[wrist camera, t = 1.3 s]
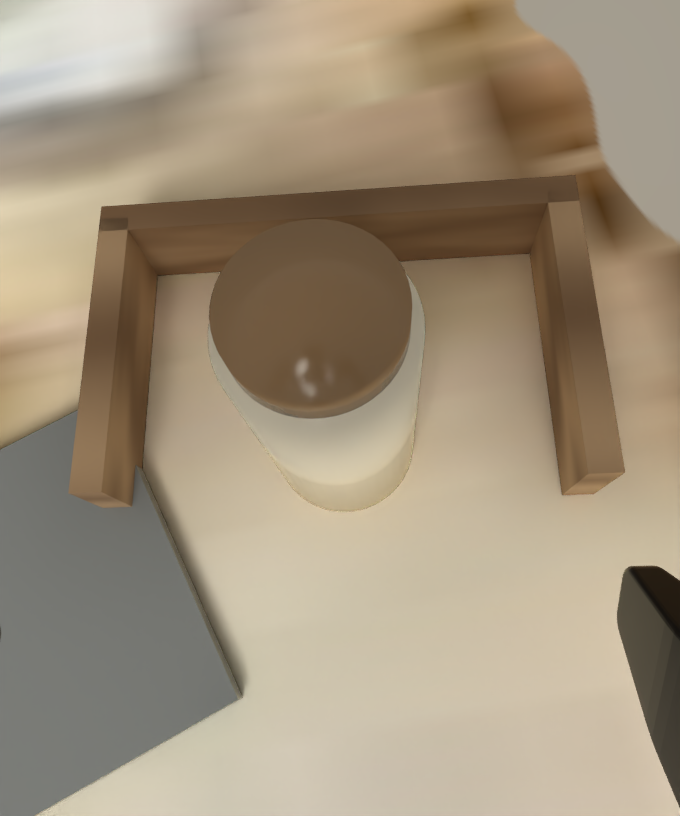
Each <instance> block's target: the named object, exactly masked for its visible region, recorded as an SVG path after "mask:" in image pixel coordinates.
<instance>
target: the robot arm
mask: <svg viewBox="0 0 680 816" xmlns="http://www.w3.org/2000/svg"><path fill="white" fill-rule="evenodd" d="M617 623H618V629H619V633H620V636H621V639H622V643H623V646H624V649H625V653H626V656H627V660H628V663H629V666H630V670H631V673H632V676H633V680H634V683H635V687H636V690H637V693H638V697H639V700H640V703H641V707H642V710H643V714H644V717H645V720H646V723H647V727H648V730H649V733H650V736H651V739H652V742H653V744H654V747H655V749H656V752H657V754H658V757H659V759H660V762H661V764H662V767H663V769H664V771H665V774H666V776H667V779H668V781H669V783H670V786H671V788H672V791H673V793H674V795H675V798H676V800H677V802H678V805H679V807H680V581H679V580H678V579H677V578H675V577H674V576H672V575H671V574H669V573H668V572H667V571H665V570H664V569H662V568H660V567H658V566H631V567H628V568H627V569H626V570H625V571H624V574H623V578H622V584H621V591H620V597H619V604H618V610H617ZM0 640H1V627H0Z"/></svg>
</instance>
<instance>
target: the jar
mask: <svg viewBox="0 0 680 816" xmlns="http://www.w3.org/2000/svg"><path fill="white" fill-rule="evenodd" d="M209 321H210V322H209V327H208V349H209V356H210V360H211V364H212V367H213V370H214V372H215V375H216V377H217V379H218V381H219V383H220V384H221V386H222V388H223V389H224V391H225V392H226V394H227V395H228V397H229V398H230V399H231V401H232V402H233V404H234V405H235V407H236V408H237V410H238V411H239V412H240V414H241V415H242V417H243V418H244V420H245V421H246V423H247V424H248V425H249V427H250V428H251V430H252V431H253V433H254V434H255V435H256V437H257V438H258V440H259V441H260V443H261V444H262V446H263V447H264V448H265V450H266V451H267V453H268V454H269V456H270V457H271V459H272V460H273V461H274V463H275V464H276V466H277V467H278V469H279V470H280V472H281V473H282V474H283V476H284V477H285V479H286V480H287V482H288V483H289V484H290V486H291V487H292V488H293V489H294V491H295V492H296V493H298V494H299V495H300V496H301V497H302V498H303V499H305V500H306V501H308V502H309V503H311V504H313V505H315V506H317V507H320V508H323V509H326V510H331V511H338V512H351V511H357V510H362V509H365V508H368V507H371V506H373V505H375V504H377V503H379V502H380V501H382V500H384V499H385V498H386V497H388V496H389V495H390V494H391V493H392V492H393V491H394V490H395V489H396V488H397V487H398V486H399V484H400V483H401V481H402V480H403V478H404V476H405V474H406V473H407V471H408V468H409V465H410V462H411V457H412V450H413V441H414V432H415V423H416V414H417V405H418V396H419V387H420V379H421V370H422V361H423V352H424V343H425V316H424V311H423V307H422V303H421V300H420V297H419V295H418V292H417V290H416V288H415V286H414V285H413V283H412V281H411V279H410V278H409V277H408V275H407V274H406V273H405V271H404V269H403V267H402V265H401V264H400V262H399V260H398V259H397V258H396V256H395V255H394V254H393V252H392V251H391V250H390V249H389V248H388V247H387V246H386V245H385V244H384V243H383V242H381V241H380V240H379V239H377V238H376V237H375V236H373V235H372V234H370V233H368V232H366V231H365V230H363V229H361V228H358V227H356V226H353V225H351V224H347V223H343V222H340V221H334V220H327V219H307V220H298V221H293V222H288V223H285V224H282V225H278V226H276V227H273V228H271V229H269V230H266V231H264V232H263V233H261V234H259V235H257V236H256V237H254V238H253V239H251V240H250V241H249V242H247V243H246V244H245V245H243V246H242V247H241V248H240V249H239V250H238V251H237V252H236V253H235V254H234V255H233V256H232V258H231V259H230V260H229V261H228V262H227V264H226V265H225V267H224V268H223V270H222V271H221V273H220V275H219V277H218V279H217V281H216V284H215V287H214V290H213V293H212V296H211V302H210V311H209Z"/></svg>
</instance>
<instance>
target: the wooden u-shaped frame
mask: <svg viewBox="0 0 680 816" xmlns="http://www.w3.org/2000/svg"><path fill="white" fill-rule="evenodd" d="M307 219H327V220H334V221H340V222H343V223H347V224H351V225H353V226H356V227H358V228H361V229H363V230H365V231H366V232H368V233H370V234H372V235H373V236H375V237H376V238H377V239H379V240H380V241H381V242H383V243H384V244H385V245H386V246H387V247H388V248H389V249H390V250H391V251H392V252H393V254H394V255H395V256H396V258H397V259H398V260H399V261H409V260H426V259H442V258H459V257H476V256H493V255H510V254H527V253H530V259H531V266H532V274H533V281H534V288H535V296H536V303H537V311H538V318H539V326H540V333H541V341H542V348H543V356H544V363H545V370H546V378H547V385H548V393H549V400H550V408H551V415H552V423H553V430H554V438H555V445H556V452H557V460H558V467H559V475H560V482H561V490H562V495H576V494H594V493H596V492H597V491H599V490H600V489H602V488H603V487H605V486H606V485H607V484H609V483H610V482H612V481H613V480H615V479H616V478H618V477H619V476H620V475H622V474H623V473H625V469H624V463H623V457H622V451H621V445H620V439H619V433H618V427H617V421H616V415H615V409H614V403H613V397H612V391H611V385H610V379H609V373H608V367H607V361H606V355H605V349H604V343H603V338H602V332H601V326H600V320H599V314H598V308H597V302H596V296H595V290H594V284H593V278H592V272H591V266H590V260H589V254H588V248H587V242H586V236H585V230H584V224H583V218H582V212H581V207H580V201H579V195H578V189H577V183H576V177H575V175H570V176H555V177H540V178H525V179H510V180H495V181H480V182H465V183H450V184H435V185H420V186H405V187H390V188H375V189H360V190H345V191H330V192H315V193H300V194H285V195H270V196H255V197H240V198H225V199H210V200H195V201H180V202H165V203H150V204H135V205H120V206H105V207H102V208H101V216H100V225H99V233H98V242H97V251H96V259H95V268H94V277H93V285H92V294H91V302H90V311H89V320H88V328H87V337H86V346H85V354H84V363H83V371H82V380H81V389H80V397H79V406H78V414H77V423H76V432H75V440H74V449H73V458H72V466H71V475H70V483H69V492H68V493H69V494H71V495H74V496H76V497H78V498H81V499H83V500H85V501H88V502H90V503H92V504H95V505H97V506H99V507H102V508H114V507H132V502H133V490H134V478H135V466H136V465H137V466H138V467H140V468H141V469H142V464H143V451H144V439H145V426H146V414H147V401H148V389H149V376H150V363H151V351H152V338H153V326H154V313H155V301H156V288H157V275H173V274H190V273H206V272H221V271H222V270H223V268H224V267H225V265H226V264H227V262H228V261H229V260H230V259H231V258H232V256H233V255H234V254H235V253H236V252H237V251H238V250H239V249H240V248H241V247H242V246H243V245H245V244H246V243H247V242H249V241H250V240H251V239H253V238H254V237H256V236H257V235H259V234H261V233H263V232H264V231H266V230H269V229H271V228H273V227H276V226H278V225H282V224H285V223H288V222H293V221H298V220H307Z"/></svg>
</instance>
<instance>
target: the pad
mask: <svg viewBox="0 0 680 816" xmlns="http://www.w3.org/2000/svg"><path fill="white" fill-rule="evenodd" d="M77 414H78V410H77V411H75V412H73V413H71V414H69V415H67V416H65V417H63V418H61V419H59V420H57V421H55V422H53V423H51V424H49V425H47V426H45V427H43V428H42V429H40V430H38V431H36V432H34V433H32V434H30V435H28V436H26V437H24V438H22V439H20V440H18V441H16V442H14V443H12V444H10V445H8V446H6V447H4V448H3V449H1V450H0V627H1V640H0V816H36V815H38V814H40V813H41V812H43V811H45V810H47V809H48V808H50V807H52V806H54V805H55V804H57V803H59V802H61V801H62V800H64V799H66V798H68V797H69V796H71V795H73V794H75V793H76V792H78V791H80V790H82V789H83V788H85V787H87V786H89V785H90V784H92V783H94V782H96V781H97V780H99V779H101V778H103V777H104V776H106V775H108V774H110V773H111V772H113V771H115V770H117V769H118V768H120V767H122V766H124V765H125V764H127V763H129V762H131V761H132V760H134V759H136V758H138V757H139V756H141V755H143V754H145V753H146V752H148V751H150V750H152V749H153V748H155V747H157V746H159V745H160V744H162V743H164V742H166V741H167V740H169V739H171V738H173V737H174V736H176V735H178V734H180V733H181V732H183V731H185V730H187V729H188V728H190V727H192V726H194V725H195V724H197V723H199V722H201V721H202V720H204V719H206V718H208V717H209V716H211V715H213V714H215V713H216V712H218V711H220V710H222V709H223V708H225V707H227V706H229V705H230V704H232V703H234V702H236V701H237V700H239V699H241V698H243V697H242V695H241V693H240V690H239V688H238V686H237V684H236V681H235V679H234V677H233V674H232V672H231V670H230V668H229V665H228V663H227V661H226V659H225V656H224V654H223V652H222V649H221V647H220V645H219V643H218V640H217V638H216V636H215V634H214V631H213V629H212V627H211V624H210V622H209V620H208V618H207V615H206V613H205V611H204V609H203V606H202V604H201V602H200V599H199V597H198V595H197V593H196V590H195V588H194V586H193V584H192V581H191V579H190V577H189V574H188V572H187V570H186V568H185V565H184V563H183V561H182V559H181V556H180V554H179V552H178V549H177V547H176V545H175V543H174V540H173V538H172V536H171V534H170V531H169V529H168V527H167V524H166V522H165V520H164V518H163V515H162V513H161V511H160V508H159V506H158V504H157V502H156V499H155V497H154V495H153V493H152V490H151V488H150V486H149V483H148V481H147V479H146V477H145V474H144V472H143V470H142V469H141V468H140V467H138V466H137V465H136V466H135V478H134V490H133V502H132V507H114V508H102V507H99V506H97V505H95V504H92V503H90V502H88V501H85V500H83V499H81V498H78V497H76V496H74V495H71V494H69V493H68V492H69V483H70V475H71V466H72V458H73V449H74V440H75V432H76V423H77Z"/></svg>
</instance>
